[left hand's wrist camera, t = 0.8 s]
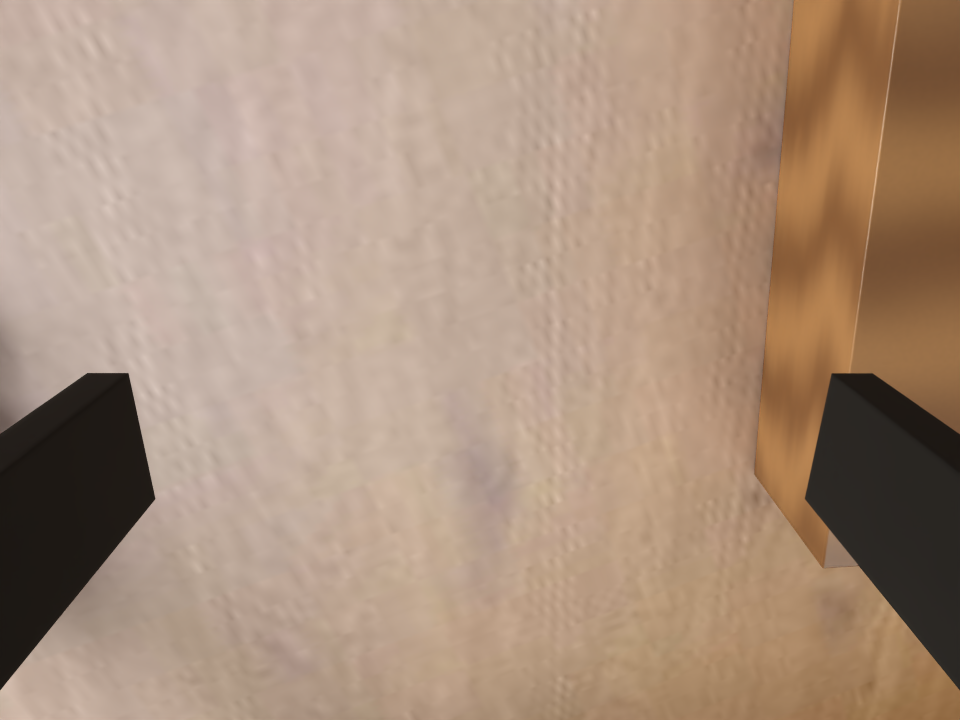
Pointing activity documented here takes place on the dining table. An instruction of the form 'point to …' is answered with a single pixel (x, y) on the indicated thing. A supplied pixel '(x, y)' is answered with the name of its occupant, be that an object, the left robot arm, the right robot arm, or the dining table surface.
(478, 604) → the dining table surface
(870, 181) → the beam
